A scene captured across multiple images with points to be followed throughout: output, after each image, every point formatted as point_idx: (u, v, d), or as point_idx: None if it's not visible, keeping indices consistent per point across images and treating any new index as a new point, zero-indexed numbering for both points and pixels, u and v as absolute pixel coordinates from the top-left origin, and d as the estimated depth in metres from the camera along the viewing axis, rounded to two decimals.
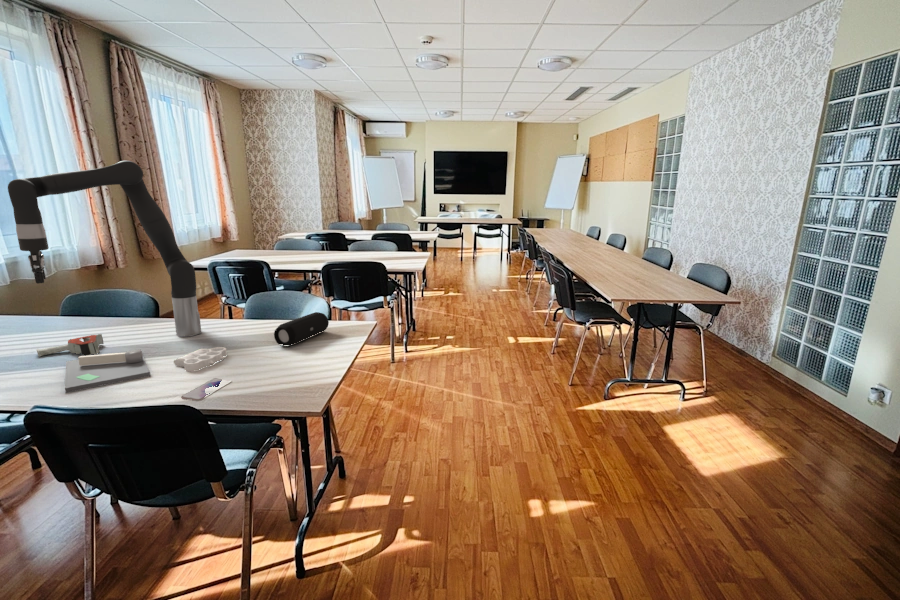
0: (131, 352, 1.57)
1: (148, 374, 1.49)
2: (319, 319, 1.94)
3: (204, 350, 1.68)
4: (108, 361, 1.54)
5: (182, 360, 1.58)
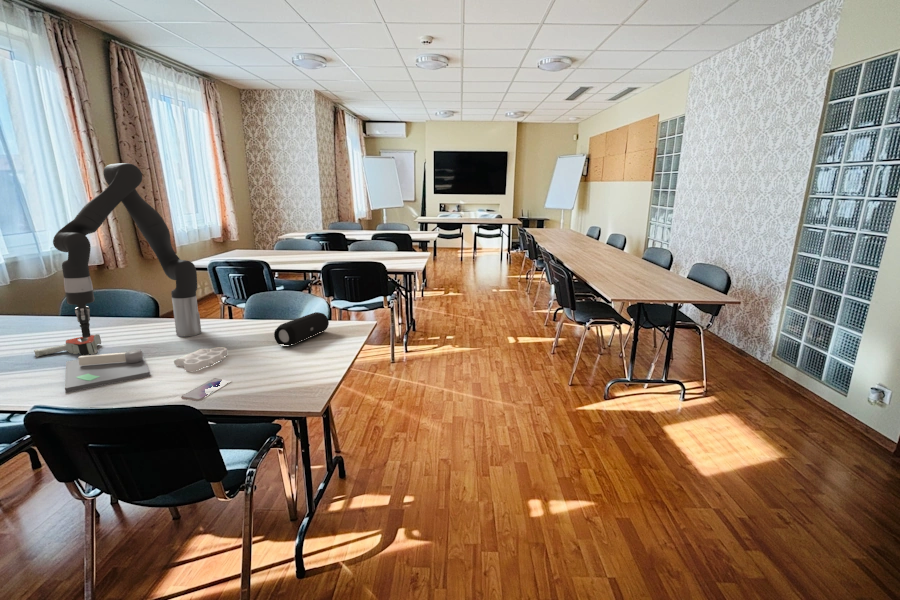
0: (131, 352, 1.57)
1: (148, 374, 1.49)
2: (319, 319, 1.94)
3: (205, 350, 1.68)
4: (108, 361, 1.54)
5: (182, 360, 1.58)
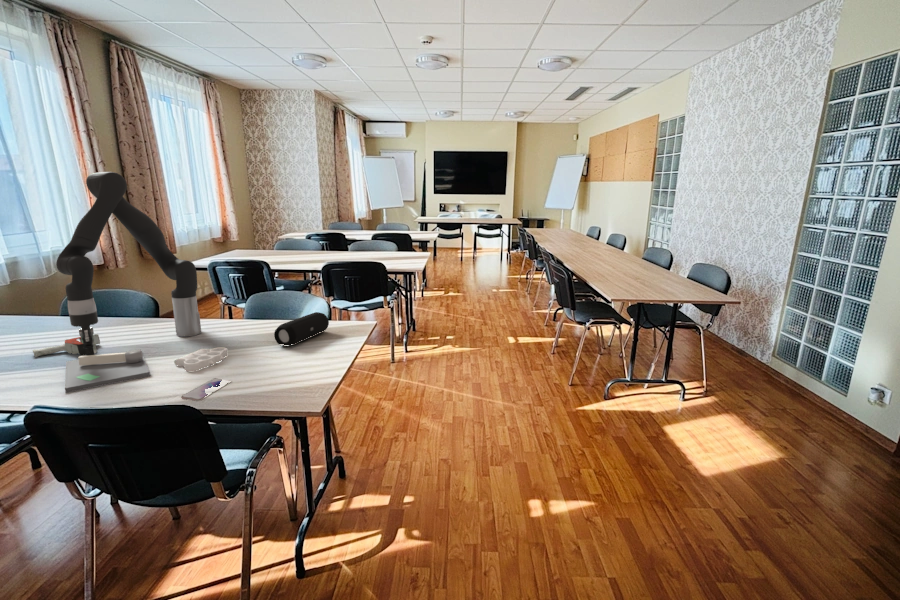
0: (131, 352, 1.57)
1: (148, 374, 1.49)
2: (319, 319, 1.94)
3: (205, 350, 1.68)
4: (108, 361, 1.54)
5: (182, 360, 1.58)
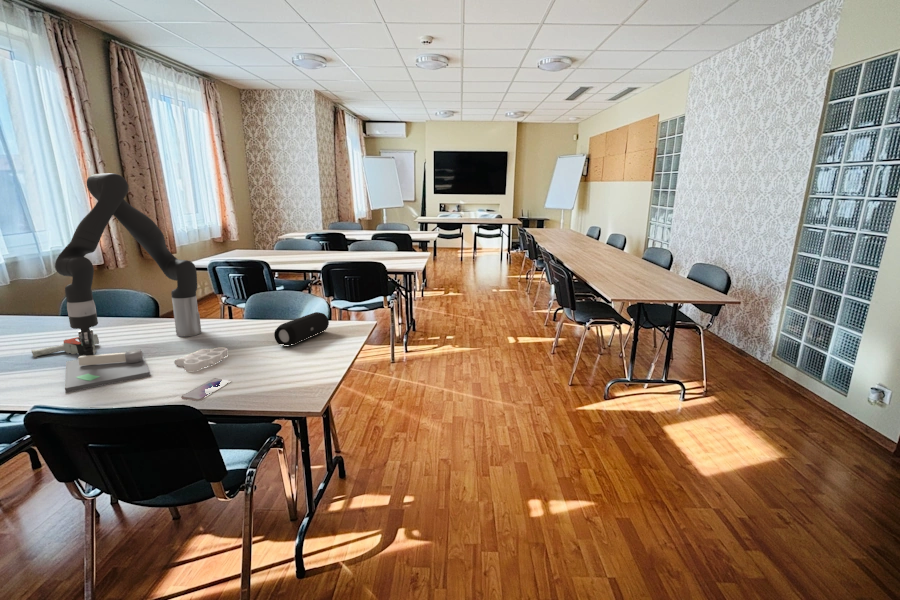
0: (131, 352, 1.57)
1: (148, 374, 1.49)
2: (319, 319, 1.94)
3: (205, 350, 1.68)
4: (108, 361, 1.54)
5: (182, 360, 1.58)
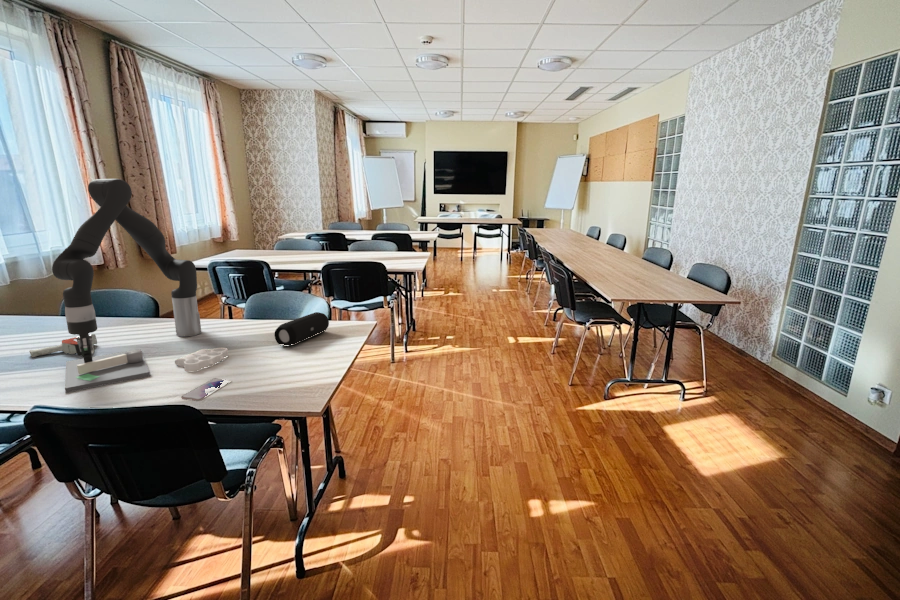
0: (130, 352, 1.56)
1: (148, 374, 1.49)
2: (319, 319, 1.94)
3: (206, 350, 1.68)
4: (110, 365, 1.51)
5: (182, 360, 1.58)
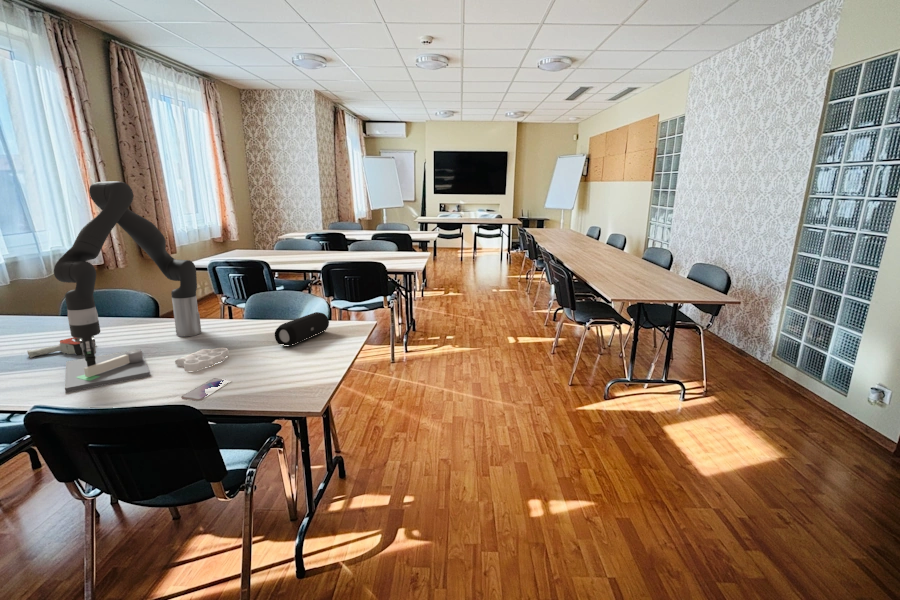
0: (131, 353, 1.56)
1: (148, 374, 1.49)
2: (319, 319, 1.94)
3: (206, 350, 1.68)
4: (114, 366, 1.50)
5: (182, 360, 1.58)
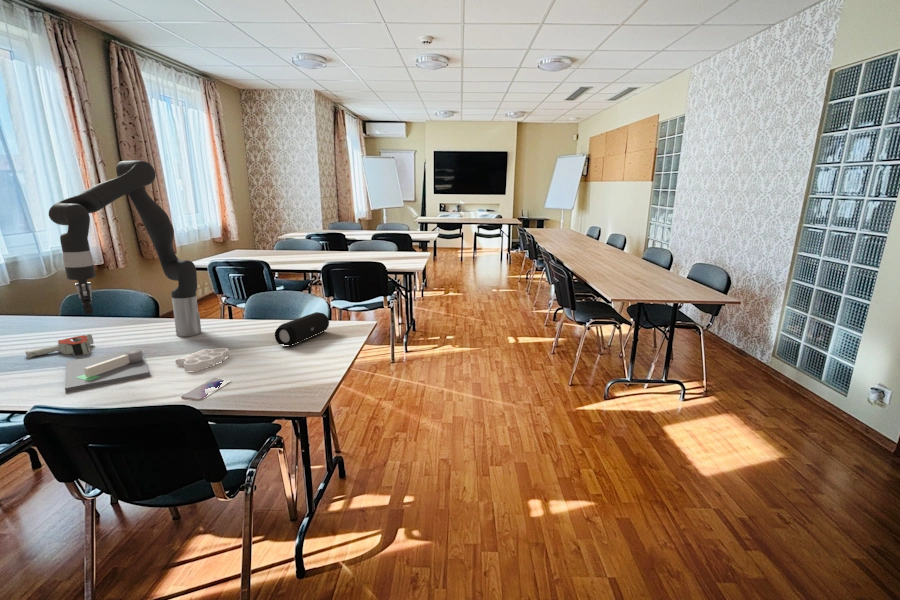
0: (131, 353, 1.56)
1: (148, 374, 1.49)
2: (320, 319, 1.94)
3: (207, 350, 1.67)
4: (114, 366, 1.50)
5: (183, 360, 1.58)
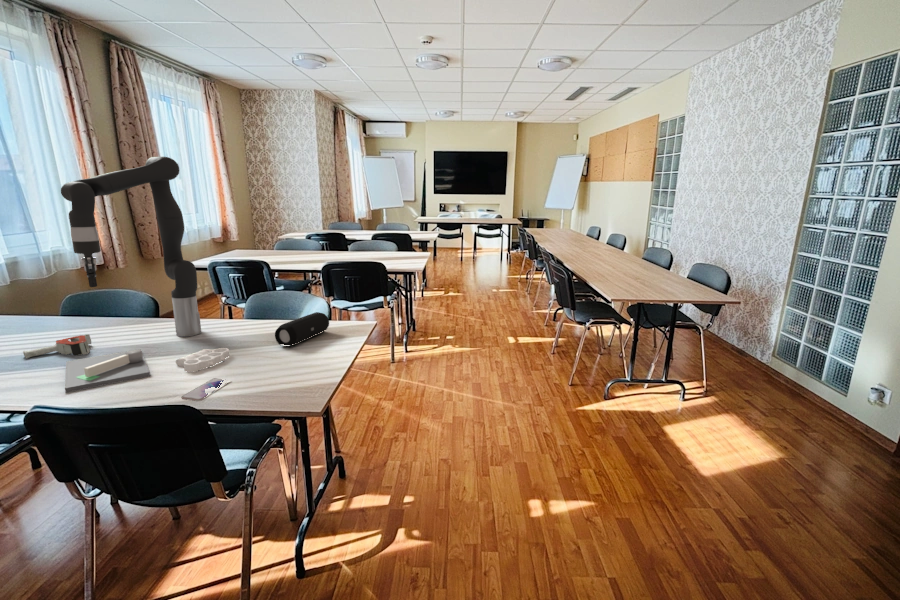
0: (131, 353, 1.56)
1: (148, 374, 1.49)
2: (320, 319, 1.94)
3: (207, 351, 1.67)
4: (114, 366, 1.50)
5: (183, 360, 1.58)
